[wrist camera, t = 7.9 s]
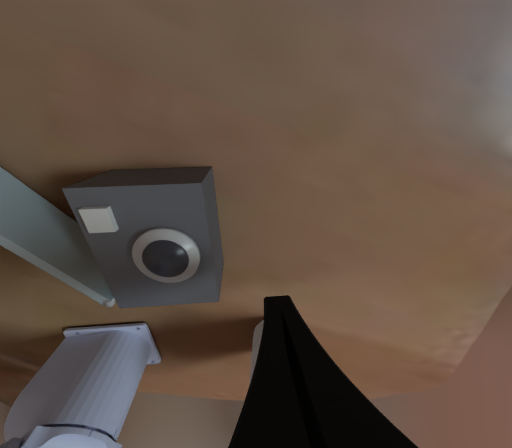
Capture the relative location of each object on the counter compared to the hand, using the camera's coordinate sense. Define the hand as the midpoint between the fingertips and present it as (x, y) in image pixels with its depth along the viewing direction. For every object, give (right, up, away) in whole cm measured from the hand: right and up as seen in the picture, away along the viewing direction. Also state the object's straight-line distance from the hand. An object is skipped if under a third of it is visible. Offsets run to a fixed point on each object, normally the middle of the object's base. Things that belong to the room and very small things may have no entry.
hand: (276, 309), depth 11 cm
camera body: (-9, +5, +7) cm, 12 cm away
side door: (-18, +5, +6) cm, 19 cm away
